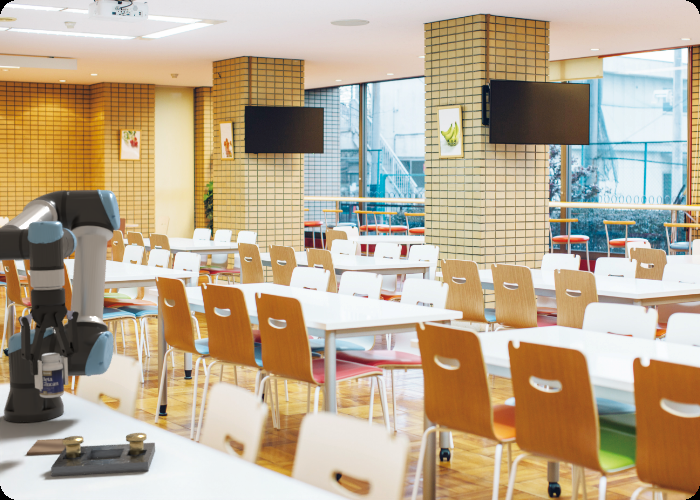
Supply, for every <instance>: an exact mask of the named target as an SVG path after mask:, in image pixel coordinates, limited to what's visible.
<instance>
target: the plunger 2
mask: <svg viewBox="0 0 700 500" xmlns="http://www.w3.org/2000/svg"><path fill="white" fill-rule="evenodd" d="M146 440H147V433H145V432H134V433H133V432H132V433H129V434H127V435H126V436H125V441H126V442H128V444H130V454H132V455H137V454H142V453H143V452H144V444H143V443H144V441H146Z"/></svg>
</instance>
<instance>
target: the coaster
mask: <svg viewBox="0 0 700 500" xmlns="http://www.w3.org/2000/svg"><path fill="white" fill-rule="evenodd" d="M63 439H64V438H51V439H50V438H49V439H37V440H36V441H35V442H34V443H33V444H32V446H31V447H30V448H29V449H28V451H27V452H26V456H38V455H40V456H41V455H42V456H43V455H54V454H55V455H60V454H61V453H62V451H63V450H64V448H65V447H66V445H63V444H62V440H63Z"/></svg>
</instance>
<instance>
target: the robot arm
mask: <svg viewBox="0 0 700 500" xmlns="http://www.w3.org/2000/svg"><path fill="white" fill-rule="evenodd" d="M120 228H121V214H120V209H119V203H118V199H117V196H116V194H115V193H114V192H113V191H112V190H110V189H109V190H107V189H105V190H104V189H98V188H97V189H95V190H94V189H89V190H87V189H86V190H83V189H82V190H81V189H79V190H78V189H77V190H76V189H75V190H64V189H63V190H56V191H52V192H48V193H46V194H43V195H40V196H38V197H36V198H34V199H33V200H31V201H29V202H28V203H27V204H26V205H25V206H24V208H23V209H22V212H20V213H19V214H18V215H16V216H15V217H14V218H12V219H10V220H9V221H8V222H7V223H4V225H3V226H1V227H0V261H17V260H18V261H19V260H20V261H21V260H25V261H26V260H27V261H28V260H29V279H30V287H31V288H33V289H31V290H30V303H31V304H30V305H31V309H30V311H29V314H26V315H24V316H22V315H21V316H19V317H18V318H17V319H18V322H19V325H20V332H16V333H14V334H12V335H11V336H10V337H9V338H8V344H7V345H8V349H7V350H8V351H7V355H8V373H9V392H8V395H7V398H6V402H5V405H4V406H5V407H4V410H3V415H4V416H3V417H4V420H6V421H7V422H11V423H33V422H34V423H35V422H42V421H47V420H51V419H55V418H58V417H60V416H62V415H63V414H65V407H64V402H63V399H62V396H59V397H54V398H44V397H41V396H40V389H43V379H42V363H43V361H42V355H43V354H47V353H59V354H60V360H59V362H60V363H62V364H63V377H64V386H67V385H69V377H78V376H79V377H80V376H84V377H85V376H86V377H91V376H97V375H98V376H100V375H104V374H105V373H106V372H107V371H108V369H109V368H110V365H111V363H112V359H113V355H114V341H115V340H114V339H115V338H114V335H113V333H112V332H111V331H109V325H108V324H106V323H105V322H104V320H103V319H104V305H105V304H104V301H105V290H106V289H105V286H106V272H107V271H106V269H107V253H108V242H109V241H110V240H112V239H113V237H114V232H115V231H116V232H117V230H118V231H119V230H120ZM73 253H74V263H73V273H72V274H73V276H72V288H71V289H72V290H71V305H70V310H68V308H67V306H66V289H65V288H64V287H63V286H65V284H66V281H65V280H66V279H65V278H66V277H65V264H64V263H65V262H64V261H65V259H66V258H68V257H70V256H71V255H72V254H73ZM65 317H66V319H67V322H66V323H63V321H64V319H65ZM32 320H33V322H34V323H35V327H34V328H33V329H31V323H32Z"/></svg>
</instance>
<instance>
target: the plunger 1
mask: <svg viewBox="0 0 700 500" xmlns="http://www.w3.org/2000/svg"><path fill="white" fill-rule="evenodd" d="M62 439H63V440H62V444H63V445H66V457H67V458H76V457H79V456H81V449H80V446H81V444H83V443H84V441H85V440H84V436H81V435H71V436H67V437H63V438H62Z"/></svg>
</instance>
